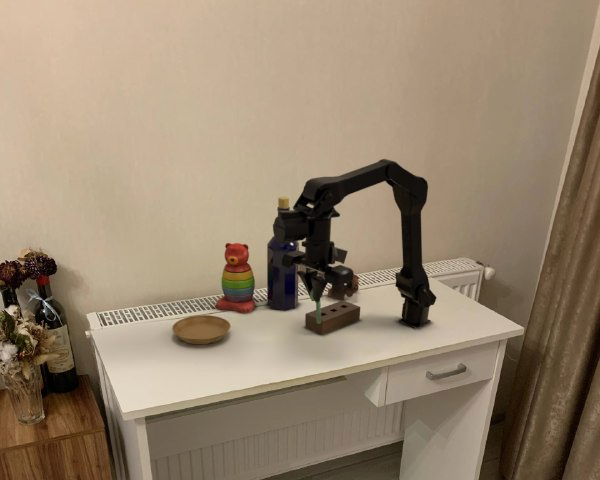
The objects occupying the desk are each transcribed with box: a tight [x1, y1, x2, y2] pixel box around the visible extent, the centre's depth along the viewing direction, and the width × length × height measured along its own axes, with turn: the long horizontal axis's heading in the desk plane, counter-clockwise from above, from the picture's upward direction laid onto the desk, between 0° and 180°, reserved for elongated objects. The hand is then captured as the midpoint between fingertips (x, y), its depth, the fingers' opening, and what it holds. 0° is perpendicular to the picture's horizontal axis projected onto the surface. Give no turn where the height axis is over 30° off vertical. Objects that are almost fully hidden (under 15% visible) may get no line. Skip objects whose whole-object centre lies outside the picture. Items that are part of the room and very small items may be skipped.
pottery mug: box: [327, 274, 360, 301], centre depth 182 cm, size 12×10×8 cm
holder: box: [304, 299, 361, 336], centre depth 165 cm, size 6×15×4 cm, turn 134°
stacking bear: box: [215, 242, 256, 314], centre depth 171 cm, size 11×10×18 cm
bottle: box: [266, 196, 300, 311], centre depth 169 cm, size 9×9×30 cm
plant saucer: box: [171, 314, 232, 345], centre depth 157 cm, size 15×15×3 cm
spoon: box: [309, 288, 324, 324], centre depth 149 cm, size 1×4×10 cm, turn 134°
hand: (315, 301), depth 148 cm, fingers closed on spoon, 1 cm apart
